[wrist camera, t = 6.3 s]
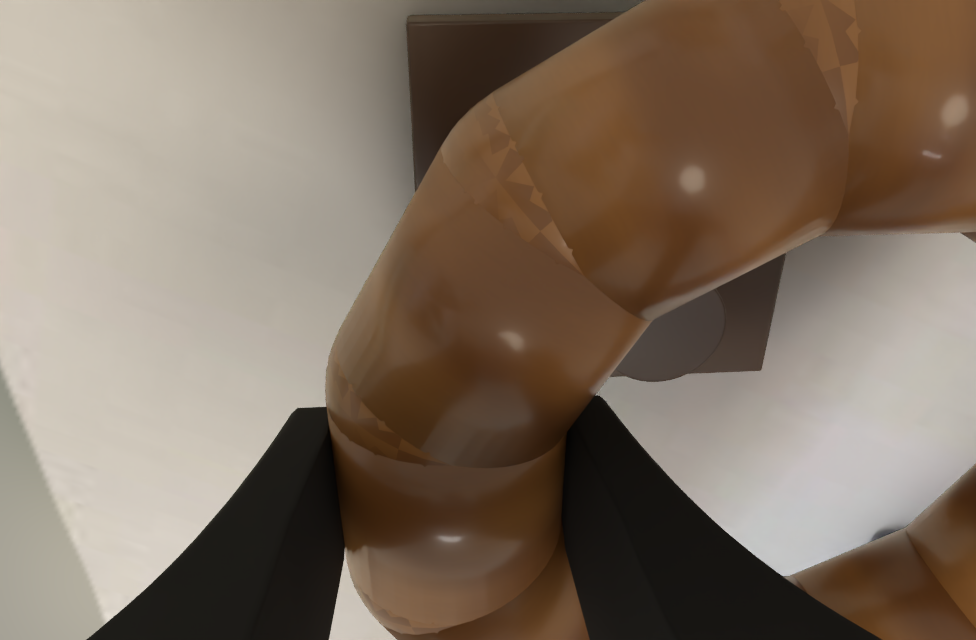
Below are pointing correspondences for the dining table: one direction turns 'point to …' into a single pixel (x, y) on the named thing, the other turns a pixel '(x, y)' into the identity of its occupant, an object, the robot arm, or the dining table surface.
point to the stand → (501, 58)
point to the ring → (633, 288)
